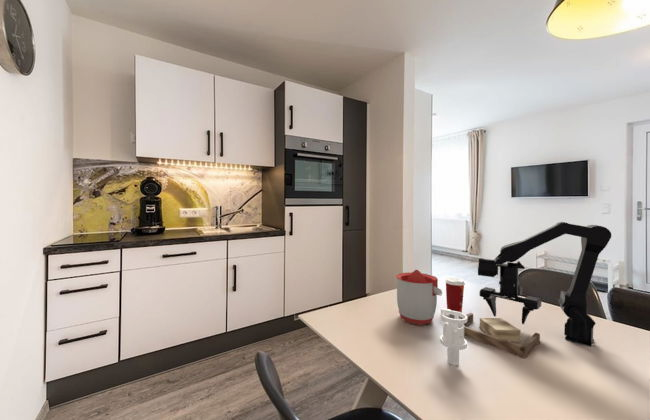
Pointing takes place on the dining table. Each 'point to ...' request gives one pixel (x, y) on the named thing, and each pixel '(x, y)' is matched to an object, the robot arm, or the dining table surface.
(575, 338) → the robot arm
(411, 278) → the citrus juicer
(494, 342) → the brown angled piece
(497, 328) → the cream rectangular block
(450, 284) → the paper cup
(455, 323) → the white flanged plastic holder
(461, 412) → the dining table surface
